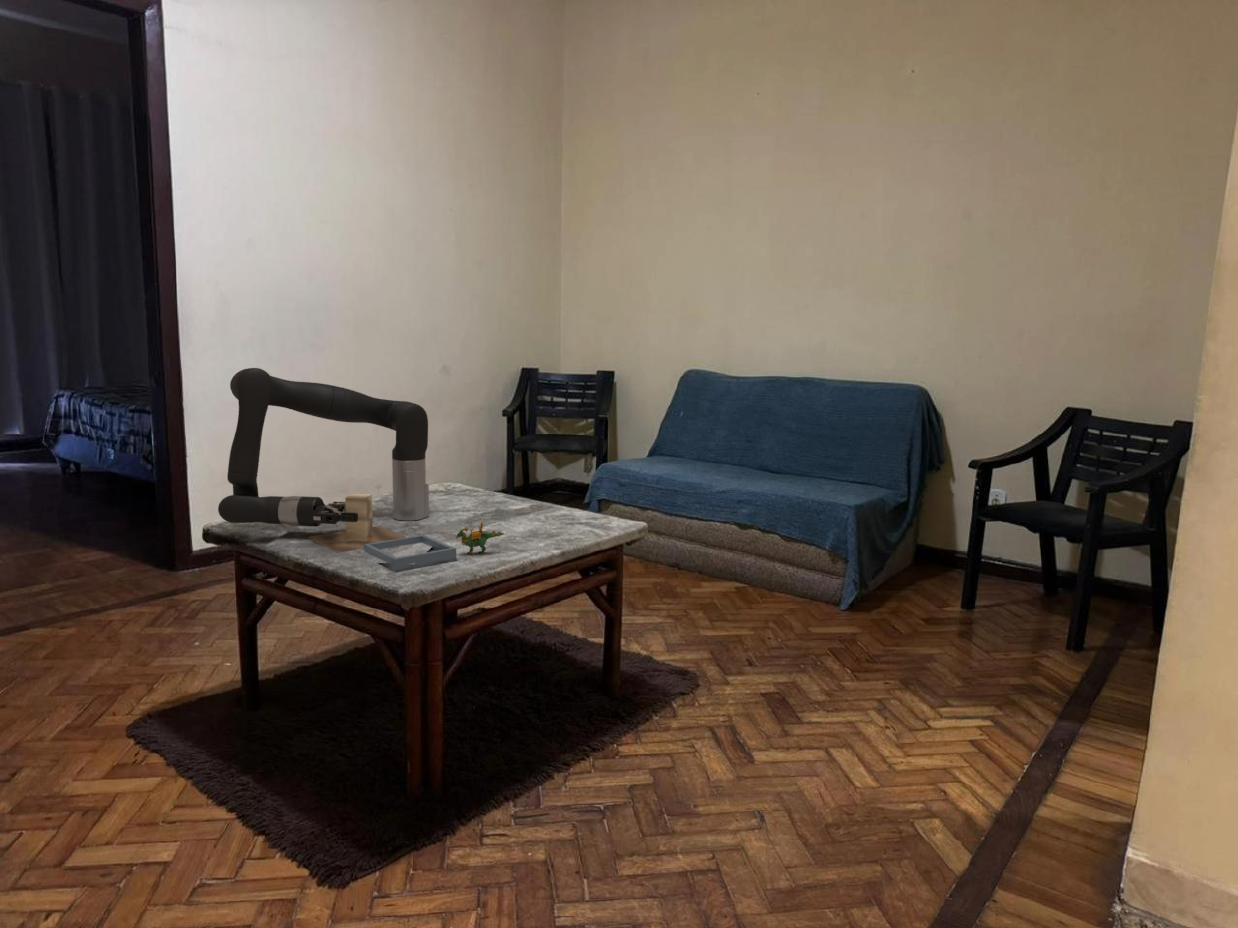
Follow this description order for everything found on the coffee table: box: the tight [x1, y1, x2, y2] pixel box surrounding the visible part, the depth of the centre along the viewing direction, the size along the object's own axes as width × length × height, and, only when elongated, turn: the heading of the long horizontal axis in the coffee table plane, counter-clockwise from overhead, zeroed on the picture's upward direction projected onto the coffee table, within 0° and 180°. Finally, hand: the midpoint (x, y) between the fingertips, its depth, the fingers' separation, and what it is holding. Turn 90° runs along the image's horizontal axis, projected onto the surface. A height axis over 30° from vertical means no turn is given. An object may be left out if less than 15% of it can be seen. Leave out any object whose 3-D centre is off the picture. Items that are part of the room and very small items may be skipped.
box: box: [363, 534, 457, 573], centre depth 210 cm, size 16×16×3 cm
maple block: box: [344, 493, 374, 541], centre depth 221 cm, size 5×5×11 cm
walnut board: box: [307, 525, 407, 553], centre depth 222 cm, size 20×18×2 cm
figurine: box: [455, 521, 505, 556], centre depth 216 cm, size 3×12×8 cm, turn 107°
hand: (363, 513), depth 220 cm, fingers open, 8 cm apart
